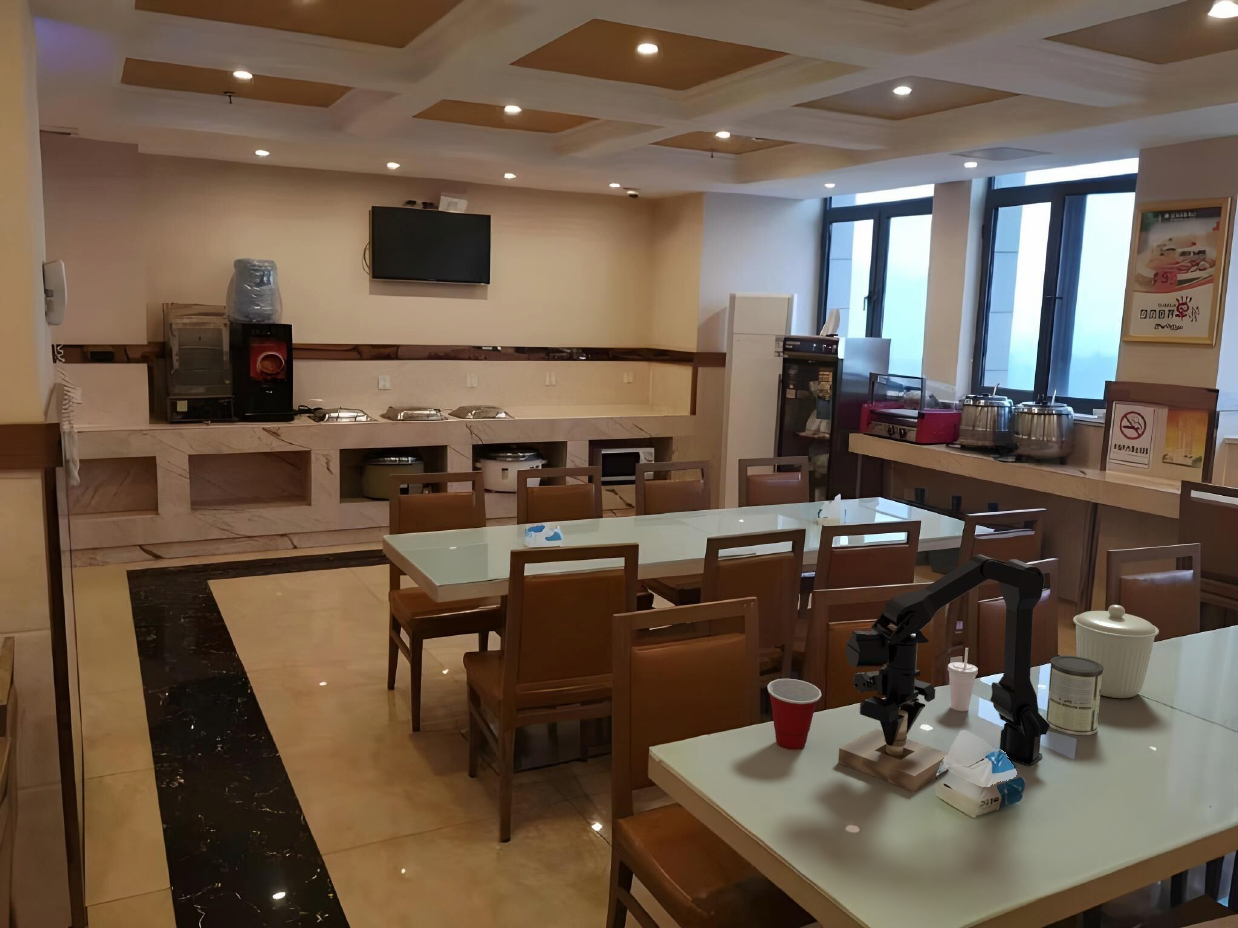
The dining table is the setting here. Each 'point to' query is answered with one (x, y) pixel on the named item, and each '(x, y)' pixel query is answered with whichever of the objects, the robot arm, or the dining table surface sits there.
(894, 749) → the peg
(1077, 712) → the coffee can
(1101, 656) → the canister
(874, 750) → the board
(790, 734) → the plastic cup
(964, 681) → the smoothie
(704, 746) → the dining table surface
